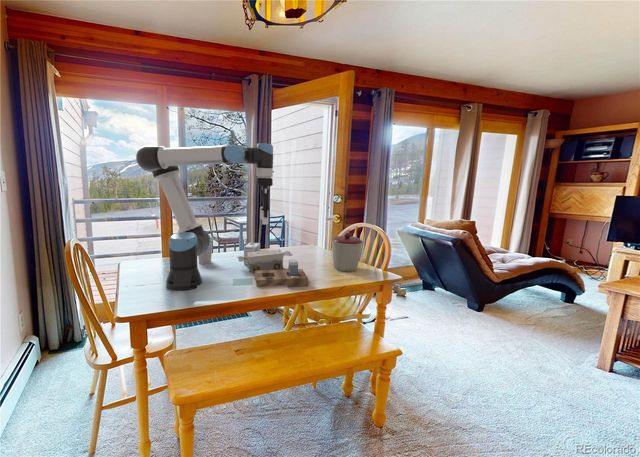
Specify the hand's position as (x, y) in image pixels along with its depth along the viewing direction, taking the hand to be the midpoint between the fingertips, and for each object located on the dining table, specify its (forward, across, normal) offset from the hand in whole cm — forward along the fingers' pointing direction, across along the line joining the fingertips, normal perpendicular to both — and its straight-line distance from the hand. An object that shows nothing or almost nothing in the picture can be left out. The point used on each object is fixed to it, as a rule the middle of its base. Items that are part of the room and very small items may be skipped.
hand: (263, 221), depth 157 cm
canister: (+29, +11, -47) cm, 56 cm away
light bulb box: (+29, +28, +4) cm, 41 cm away
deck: (+29, -6, +10) cm, 31 cm away
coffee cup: (+29, +31, +30) cm, 52 cm away
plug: (+28, -6, -14) cm, 32 cm away
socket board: (+29, -6, -8) cm, 30 cm away
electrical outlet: (+29, +14, -2) cm, 32 cm away
